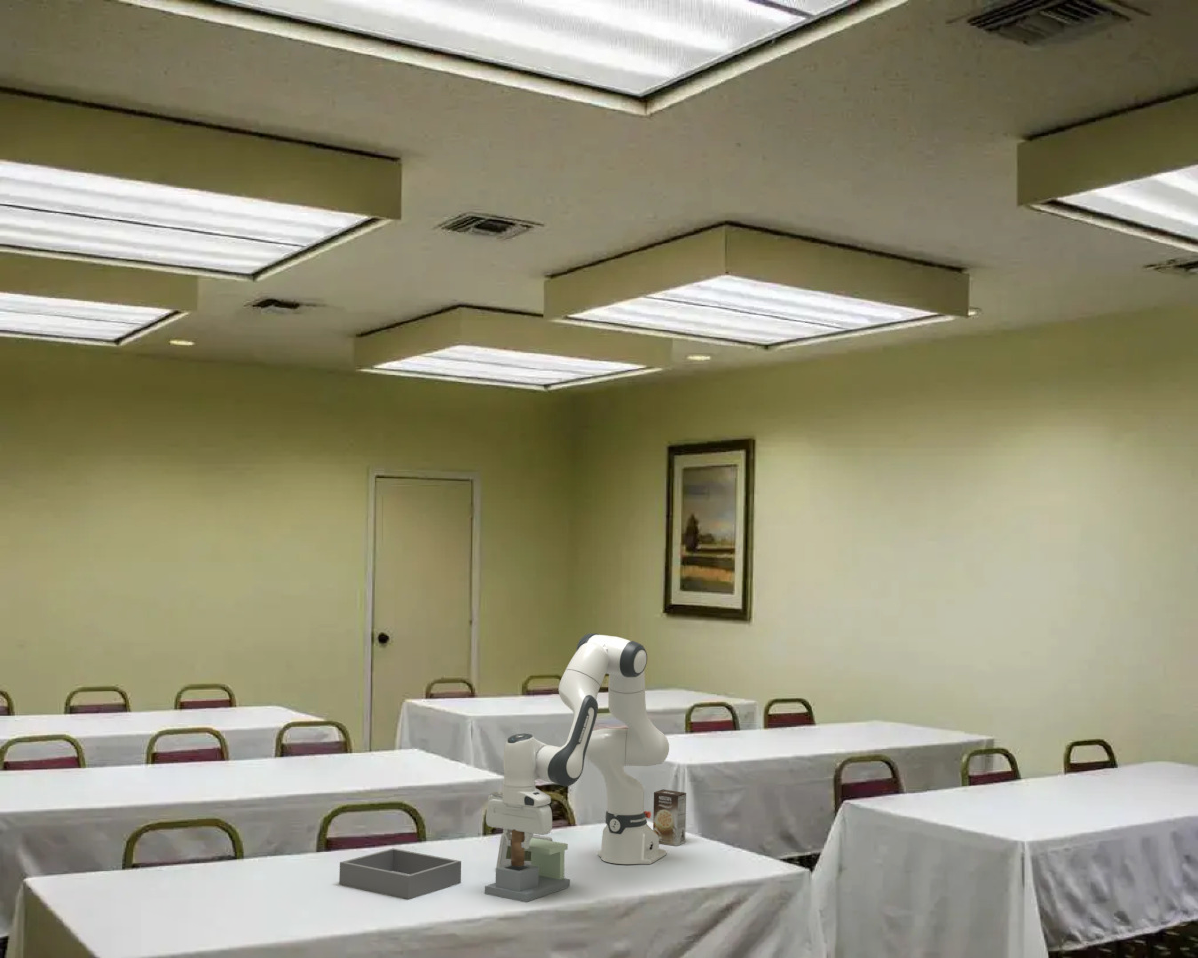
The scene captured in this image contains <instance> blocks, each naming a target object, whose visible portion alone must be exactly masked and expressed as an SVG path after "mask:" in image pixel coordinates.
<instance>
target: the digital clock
mask: <svg viewBox="0 0 1198 958" xmlns="http://www.w3.org/2000/svg"><path fill="white" fill-rule="evenodd" d="M510 833H511V836H512V832H510ZM525 838H526V836H525ZM532 838H536V839H542V840H548V841H553V838H552V837H550V836H545V835H539V834H533V837H532ZM508 864H511V846H507V839H506V838H505V836H504V833H503V832H502V834H501V836H500V842H499V846H498V854H497V862H496V868H498V867H501V866H505V865H508ZM524 864H525V865H531V852H530V851H525V857H524ZM496 868H495V869H496Z"/></svg>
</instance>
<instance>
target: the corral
mask: <svg viewBox="0 0 1198 958" xmlns="http://www.w3.org/2000/svg"><path fill="white" fill-rule="evenodd" d="M461 879H462V860H457V859H454V858H448V857H447V858H446V857H442V856H435V855H431V854H426V853H425V854H424V853H420V852H415V851H409V850H404V849H399V848H394V847H392V848H389V849H385V850H381V851H379V852H375V853H371V854H366V855H362V856H360V857H355V858H352V859H348V860H343V861H340V862H339V878H338V884H339V885H340V886H343V887H345V886H346V887H350V888H354V889H357V890H358V889H360V890H364V891H367V892H372V893H377V894H382V895H386V896H391V897H395V898H400V899H404V900H411V899H414V898H417V897H420V896H424V895H427V894H431V893H434V892H437V891H440V890H443V889H446V888H449V887H452V886H456V885H459V884H461V883H462V882H461V881H462V880H461Z"/></svg>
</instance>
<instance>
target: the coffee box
mask: <svg viewBox="0 0 1198 958" xmlns="http://www.w3.org/2000/svg"><path fill="white" fill-rule="evenodd" d="M652 817H653V818H652V819H653V821H652V830H653V831H654V832H655V833H656V834H657V835H658V838H659V845H660V844H662V845H667V846H673V847H678V846H680V845H683V844H685V843H686V828H687V827H686V826H687V825H686V824H687V823H686V820H687V792H683V791H678V790H677V791H676V790H672V789H663V788H662V789H660V790H656V791H654V792H653V815H652Z"/></svg>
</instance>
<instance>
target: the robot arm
mask: <svg viewBox="0 0 1198 958" xmlns="http://www.w3.org/2000/svg"><path fill="white" fill-rule="evenodd" d="M575 648H576V649H575V653H574V655H573V656H572V658H571V659H570V661H569V663H568V664H567V666H566V668H565V670H564V673H563V674H562V676H561V679H560V681H559V685H558V694H559V697H560V699H561V701H562V703H563V704H564V705H565V706H566V707H567V708H569V709H570V710H571V711H572V713H573V721H572V724H571V727H570V730H569V734H568V736H567V739H566V742H565V743H564V744H563V745H561V746H556V745H551V744H547V743H545V742H542V741H540V740H538V739H537V738H535V737H534V735H533V734H530V733H516V734H514V735H511V736H509V737H508V738H507V739H506V741H505V745H504V750H503V759H502V761H503V763H502V764H503V767H502V768H503V773H504V775H503V776H504V777H503V782H502V792H497V791H493V792H491V793H490V794H489V795H488V797H487V807H486V813H485V823H486V826H488V827H493V828H497V829H498V828H499V829H503V830H502V834H503V833H504V836H505V838H506V839H507V846H511V837H512V836H511V833H512V830H513V829H515V830H516V831H521V832H525V836H526V838H525V840H524V842H521V845H522V846H521V848H523V849H528V848H529V842H530V840H531V839H532V837H533V835H539V836H545V835H549V834H550V833H551V831H552V829H553V813H552V808H551V806H550V804H551V802H552V798H551V796H550V795H549V794H547V793H545V792H543V791H541V790H540V789H538V788H537V787H536V780H537V779H538V780H541V781H545V782H550V783H554V784H556V785H558V786H559V785H560V786H562V787H570V786H572V785H574V784H575V783H576V782H577V781H578V780H579V779H580V778H581V776H582V774H583V771H584V765H585V758H587V760H588V761H589V762H590V763H591V764H592V765H593V766H595V767H596V768H597V770H598V771H599V772H600V774H601V775H602V777H603V779H604V782H605V787H606V802H607V803H606V804H607V806H606V807H607V808H606V811H605V816H604V817H605V824H606V826H604V827H603V829H602V835H601V844H600V845H601V847H600V850H599V851H598V852H597V853H598V854H597V855H598V857H600V860H602V861H604V862H605V863H611V864H617V865H639V864H641V865H650V864H653V863H655V862H657V861H658V860H660V859H662V858H663V857H664V856H666V855H667V854H668V853H667V850H665V849H662V848H660V843H659V838H658V835H657V834H656V833H655V832H654V831H653V828H651V826H649V824H648V820H647V819H650V818H651V817H652V812H651V811H650V810H649V811H647V810H644V809H645V788H644V786H643V784H642V783H641V781H639V780H638V779H636V778H634V777H633V776H630V775H629V774H627V773H626V771H625V769H624V767H626V766H629V767H650V766H656V765H661V764H663V763H665V761H666V759H667V758H668V755H669V752H670V744H669V741H668V738H667V736H666V735H665V734H664V733H663V732H662V731H661V730H659V729H658V728H657V727H656V726H655V725H654V724H653V722H652V721H651V719H650V717H649V716H648V711H647V706H646V704H647V703H646V677H645V674H646V673H645V669H646V667H647V664H648V654H647V650H646V648H645V647H644V645H642V644H641V643H639V642H637V641H635V640H629V639H626V638H624V637H621V636H620V637H619V636H616V635H615V636H612V635H606V634H599V633H595V632H593V633H586V634H585V635H583V636H582V637H581V638H580V639H579V641H578V643H577V645H576V647H575ZM606 675H608V686H607V687H608V694H607V695H608V700H607V701H608V703H607V704H608V705H607V706H608V711H609V713H610V714H611V716H612V717H613V718H614V719H616V720H618V721H619V722H622V723H623V724H624V725H626V726H627V728H608V727H607V728H605V727H604V728H600V729H594V727H595V724H596V720H597V716H598V713H599V712H598V711H599V703H598V701H597V698H598V694H599V691H600V688H601V686H602V684H603V682H604V678H605V677H606Z"/></svg>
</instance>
